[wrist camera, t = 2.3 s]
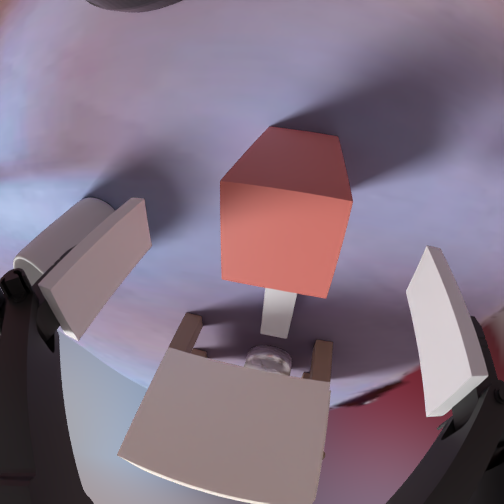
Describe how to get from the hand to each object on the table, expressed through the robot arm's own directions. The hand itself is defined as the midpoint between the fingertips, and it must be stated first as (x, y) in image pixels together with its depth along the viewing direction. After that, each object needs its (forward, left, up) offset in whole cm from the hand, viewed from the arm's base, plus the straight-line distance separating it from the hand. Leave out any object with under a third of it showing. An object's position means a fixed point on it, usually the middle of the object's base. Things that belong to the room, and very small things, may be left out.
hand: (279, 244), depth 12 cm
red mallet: (+8, 0, -10) cm, 13 cm away
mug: (+11, -22, -11) cm, 27 cm away
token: (+26, 0, -11) cm, 28 cm away
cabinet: (+25, -2, -10) cm, 27 cm away
